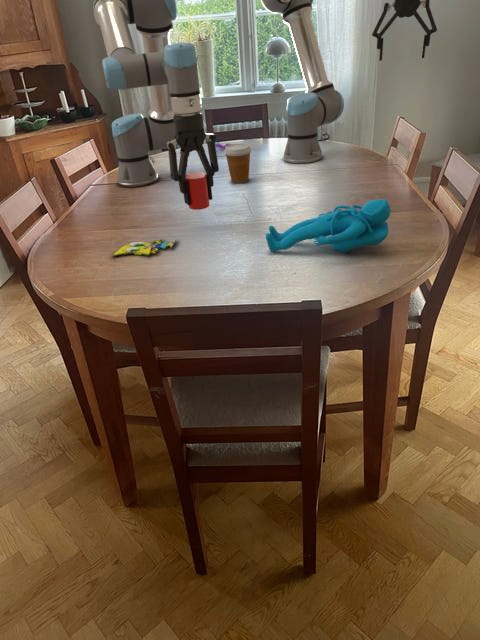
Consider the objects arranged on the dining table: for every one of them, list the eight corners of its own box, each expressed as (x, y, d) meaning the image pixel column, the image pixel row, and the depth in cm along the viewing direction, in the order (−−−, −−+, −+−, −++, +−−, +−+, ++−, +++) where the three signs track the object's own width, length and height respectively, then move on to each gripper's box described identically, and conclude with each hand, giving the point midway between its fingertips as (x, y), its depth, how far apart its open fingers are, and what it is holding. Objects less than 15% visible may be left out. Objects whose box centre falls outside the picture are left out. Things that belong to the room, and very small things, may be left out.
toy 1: (167, 253, 124) (112, 254, 126) (167, 256, 124) (112, 257, 126) (176, 237, 132) (124, 238, 134) (176, 240, 133) (125, 241, 135)
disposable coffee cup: (222, 184, 172) (219, 149, 166) (233, 176, 180) (230, 142, 173) (247, 185, 169) (245, 150, 163) (256, 177, 176) (254, 143, 170)
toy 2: (270, 213, 128) (386, 185, 117) (281, 248, 133) (393, 225, 122) (259, 239, 114) (389, 210, 104) (272, 277, 119) (397, 254, 109)
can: (184, 207, 136) (180, 177, 131) (199, 200, 139) (195, 171, 134) (199, 211, 132) (195, 180, 127) (213, 204, 136) (210, 174, 131)
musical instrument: (233, 161, 200) (257, 143, 213) (232, 156, 199) (256, 138, 211) (189, 161, 213) (214, 143, 225) (188, 156, 212) (212, 139, 224)
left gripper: (157, 121, 116) (172, 212, 129) (227, 109, 122) (234, 197, 135) (147, 117, 121) (162, 205, 134) (214, 105, 128) (222, 190, 141)
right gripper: (366, -14, 151) (362, 62, 163) (452, -23, 144) (441, 57, 156) (368, -14, 157) (364, 59, 168) (450, -22, 150) (440, 55, 162)
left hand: (198, 200), depth 135 cm, fingers closed on can, 6 cm apart
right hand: (401, 59), depth 162 cm, fingers open, 13 cm apart
